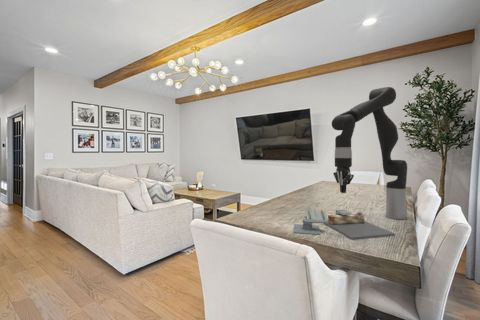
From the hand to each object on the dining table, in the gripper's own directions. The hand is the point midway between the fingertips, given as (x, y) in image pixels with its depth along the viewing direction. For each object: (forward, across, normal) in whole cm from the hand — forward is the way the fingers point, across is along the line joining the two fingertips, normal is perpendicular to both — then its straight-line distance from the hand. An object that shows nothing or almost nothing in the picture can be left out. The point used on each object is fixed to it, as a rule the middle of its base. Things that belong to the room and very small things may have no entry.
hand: (343, 192), depth 111 cm
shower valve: (+19, +5, +15) cm, 25 cm away
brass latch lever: (+17, +8, -8) cm, 21 cm away
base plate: (+19, +1, -8) cm, 20 cm away
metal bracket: (+20, +20, +3) cm, 28 cm away
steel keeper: (+18, +9, -6) cm, 21 cm away
